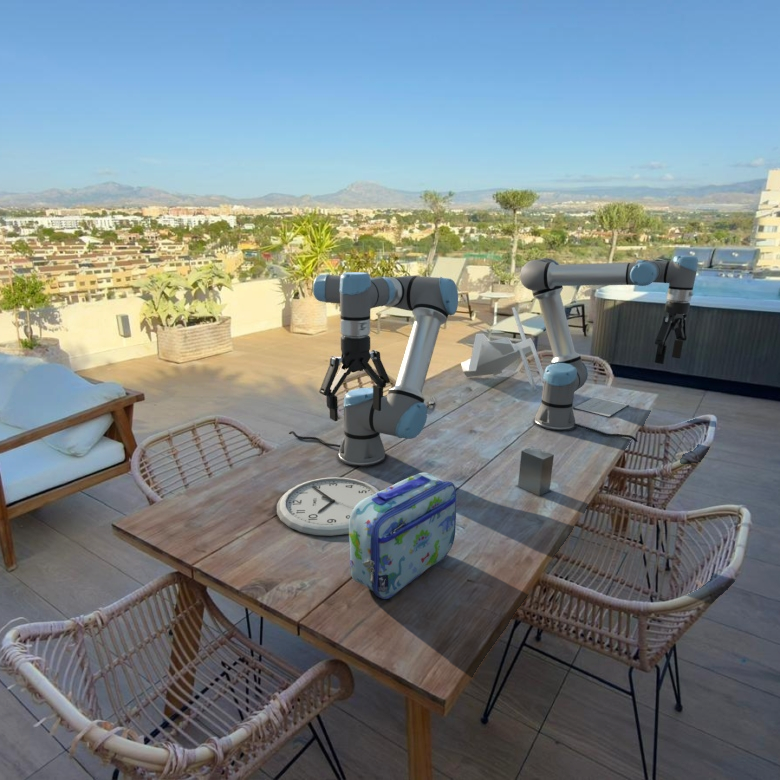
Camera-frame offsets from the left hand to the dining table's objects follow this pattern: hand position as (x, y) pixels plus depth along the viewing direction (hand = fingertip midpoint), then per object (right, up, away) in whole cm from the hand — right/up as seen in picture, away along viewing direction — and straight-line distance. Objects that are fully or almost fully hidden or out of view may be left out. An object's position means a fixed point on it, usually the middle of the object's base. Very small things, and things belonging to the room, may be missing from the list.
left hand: (355, 414), depth 138 cm
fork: (+26, -1, +85) cm, 88 cm away
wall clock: (-7, -25, +4) cm, 26 cm away
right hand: (+109, +17, +51) cm, 122 cm away
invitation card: (+101, -1, +88) cm, 134 cm away
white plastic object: (+63, +10, +119) cm, 135 cm away
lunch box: (+12, -34, -23) cm, 42 cm away
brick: (+51, -23, +16) cm, 58 cm away
